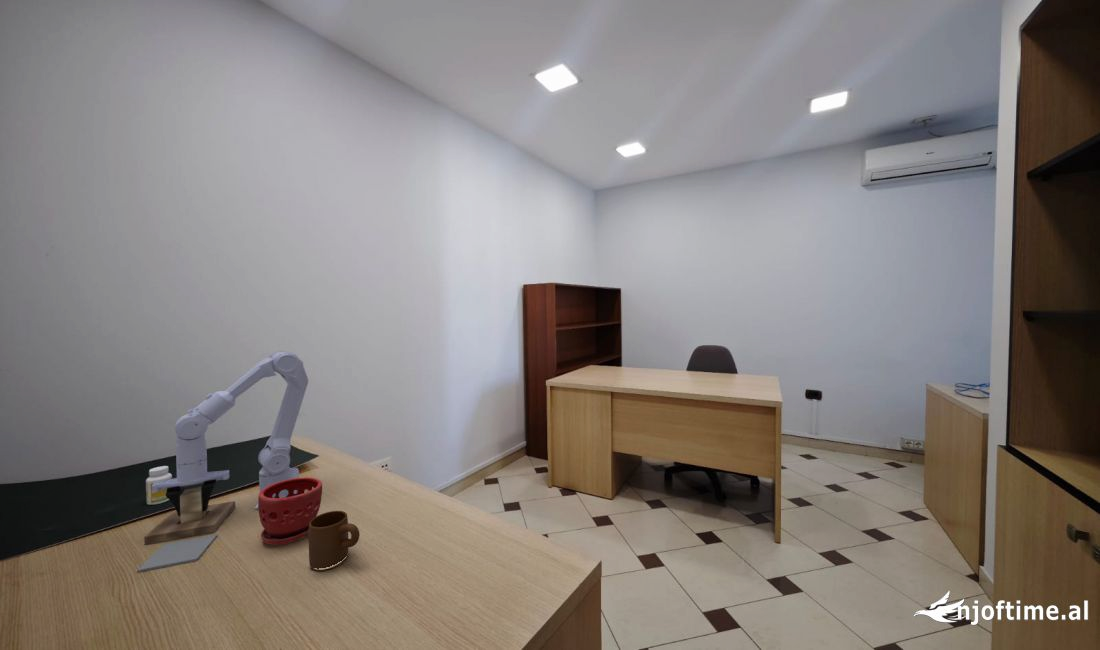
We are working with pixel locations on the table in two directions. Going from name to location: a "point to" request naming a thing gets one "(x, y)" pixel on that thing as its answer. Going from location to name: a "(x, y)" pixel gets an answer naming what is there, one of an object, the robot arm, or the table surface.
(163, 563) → the pad
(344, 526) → the mug
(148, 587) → the table surface
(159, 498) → the supplement bottle
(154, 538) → the brown square hole board
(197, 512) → the maple plug
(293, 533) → the plant pot
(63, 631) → the table surface
